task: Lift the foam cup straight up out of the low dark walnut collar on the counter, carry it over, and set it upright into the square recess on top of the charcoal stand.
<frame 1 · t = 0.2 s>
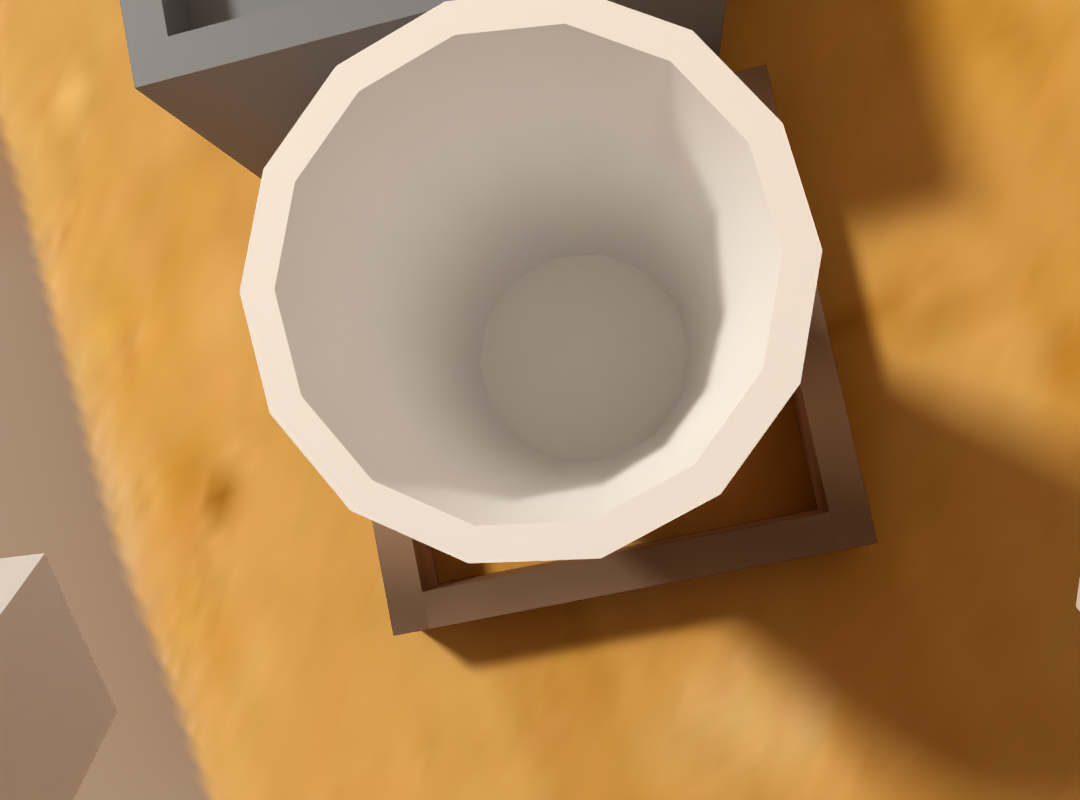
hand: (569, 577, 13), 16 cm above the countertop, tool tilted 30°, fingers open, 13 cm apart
walnut collar: (585, 359, 29), on the countertop
foam cup: (585, 360, 29), on the countertop
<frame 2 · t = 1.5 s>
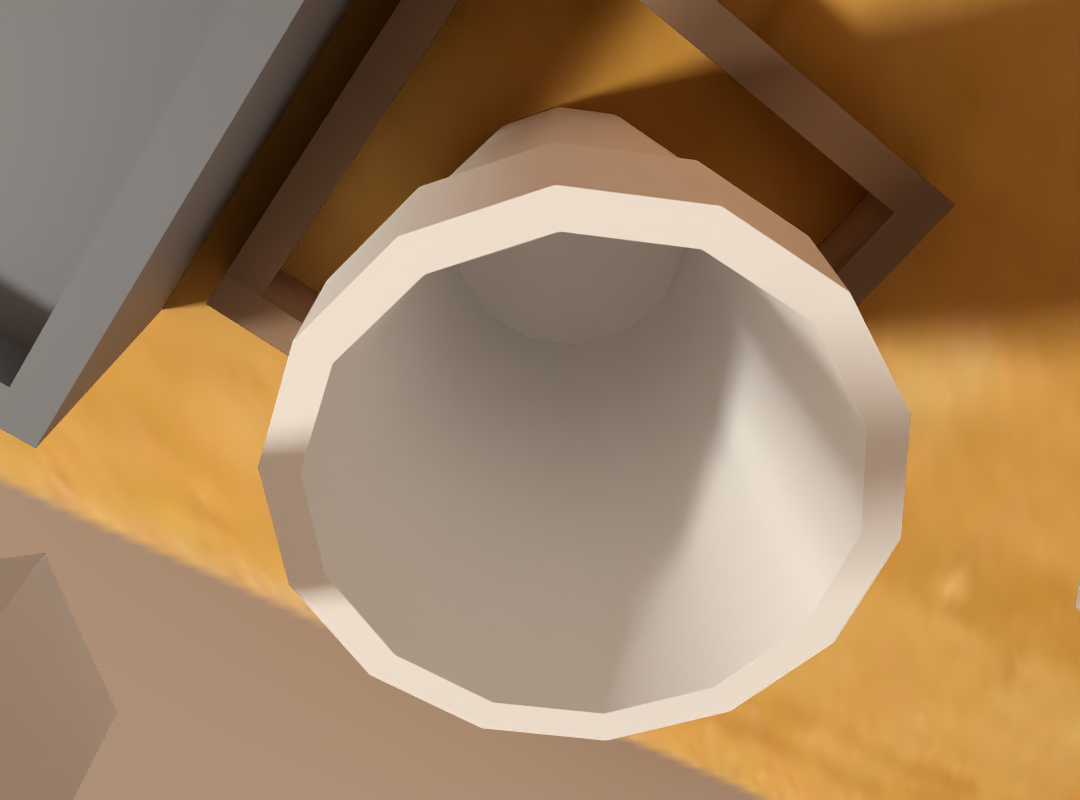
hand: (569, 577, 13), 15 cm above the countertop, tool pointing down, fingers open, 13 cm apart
walnut collar: (569, 230, 26), on the countertop
foam cup: (568, 227, 26), on the countertop
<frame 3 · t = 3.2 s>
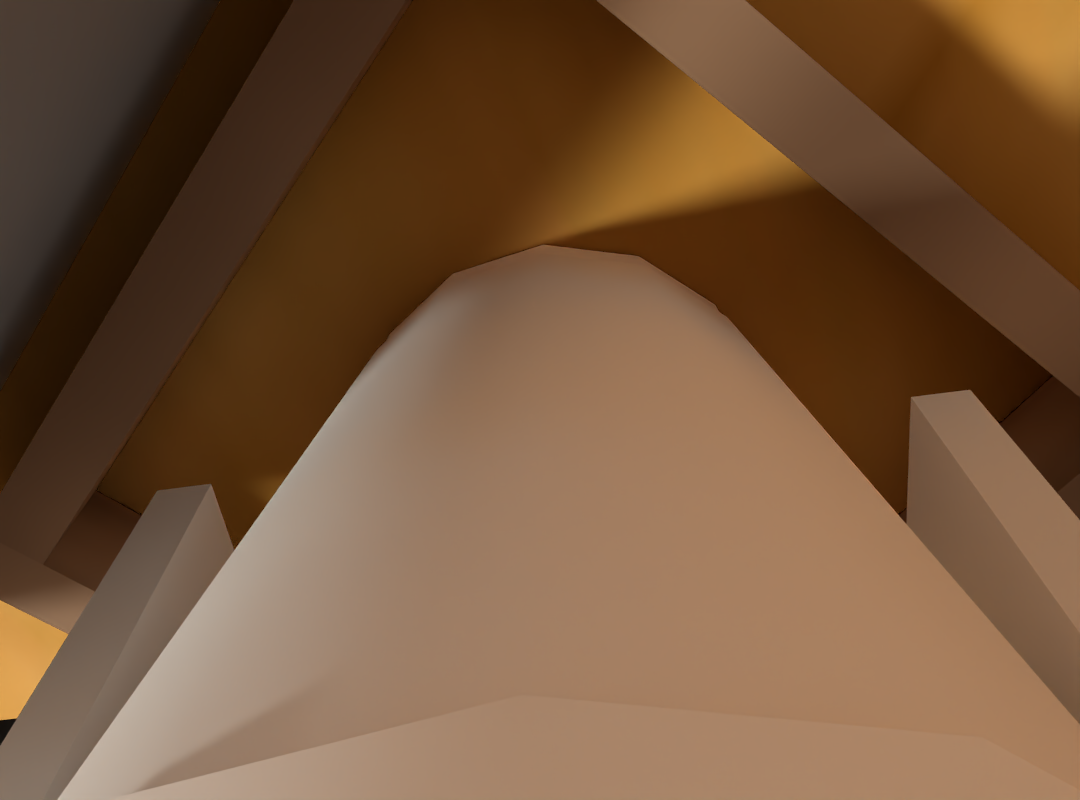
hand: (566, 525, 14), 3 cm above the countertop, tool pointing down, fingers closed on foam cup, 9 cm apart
walnut collar: (562, 432, 16), on the countertop
foam cup: (562, 426, 16), on the countertop, touching gripper
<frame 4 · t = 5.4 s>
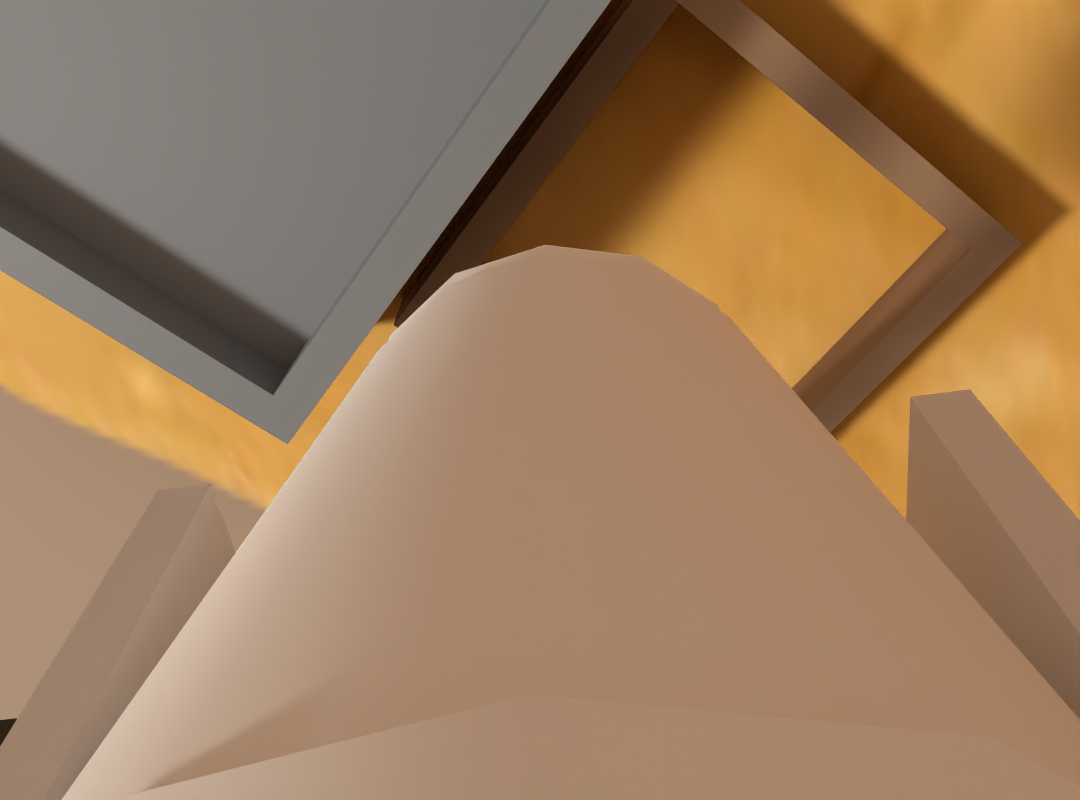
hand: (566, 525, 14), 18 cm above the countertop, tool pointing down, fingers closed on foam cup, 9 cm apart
charcoal stand: (260, 4, 28), on the countertop
walnut collar: (692, 262, 31), on the countertop
foam cup: (563, 426, 16), point 15 cm above the countertop, touching gripper
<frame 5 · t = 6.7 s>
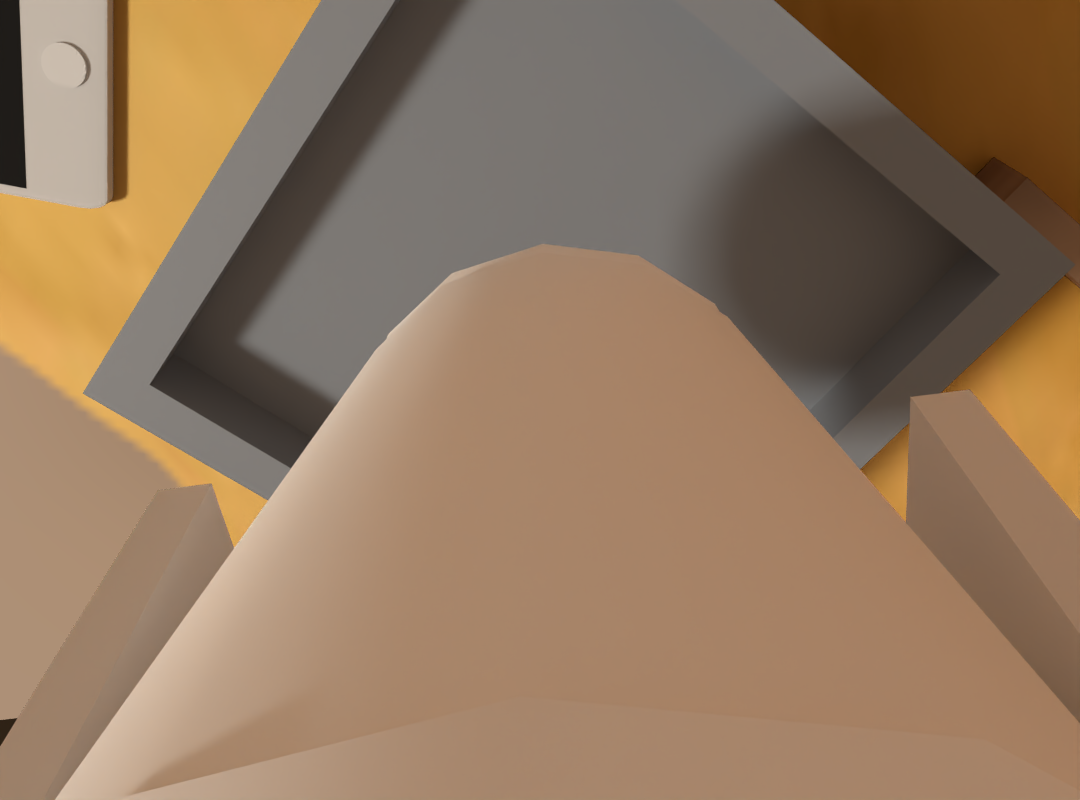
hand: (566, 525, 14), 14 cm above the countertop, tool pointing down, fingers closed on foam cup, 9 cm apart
charcoal stand: (557, 217, 26), on the countertop
walnut collar: (973, 461, 30), on the countertop
foam cup: (561, 426, 16), point 12 cm above the countertop, touching gripper
when the fingers open (10 cm above the countertop, at t = 7.9 s): foam cup drops 1 cm, resting on charcoal stand.
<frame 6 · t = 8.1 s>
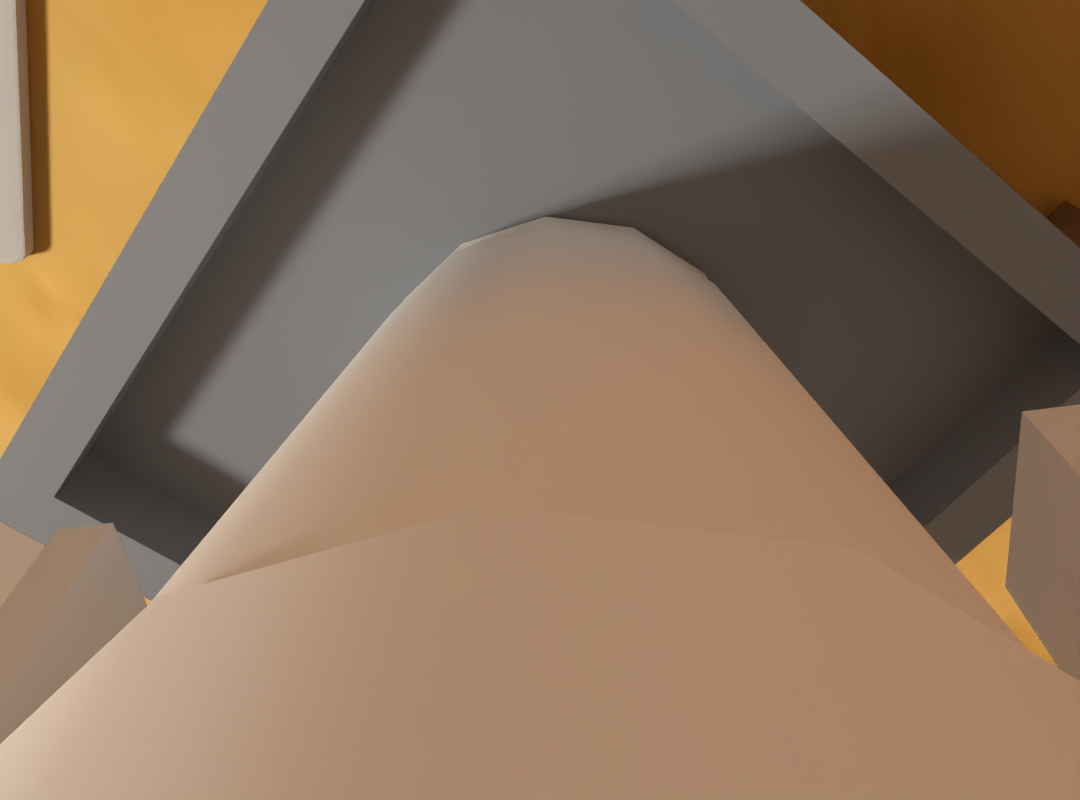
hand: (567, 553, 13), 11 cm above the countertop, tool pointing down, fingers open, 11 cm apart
charcoal stand: (554, 269, 23), on the countertop
walnut collar: (1029, 540, 26), on the countertop
foam cup: (563, 389, 17), point 6 cm above the countertop, touching charcoal stand
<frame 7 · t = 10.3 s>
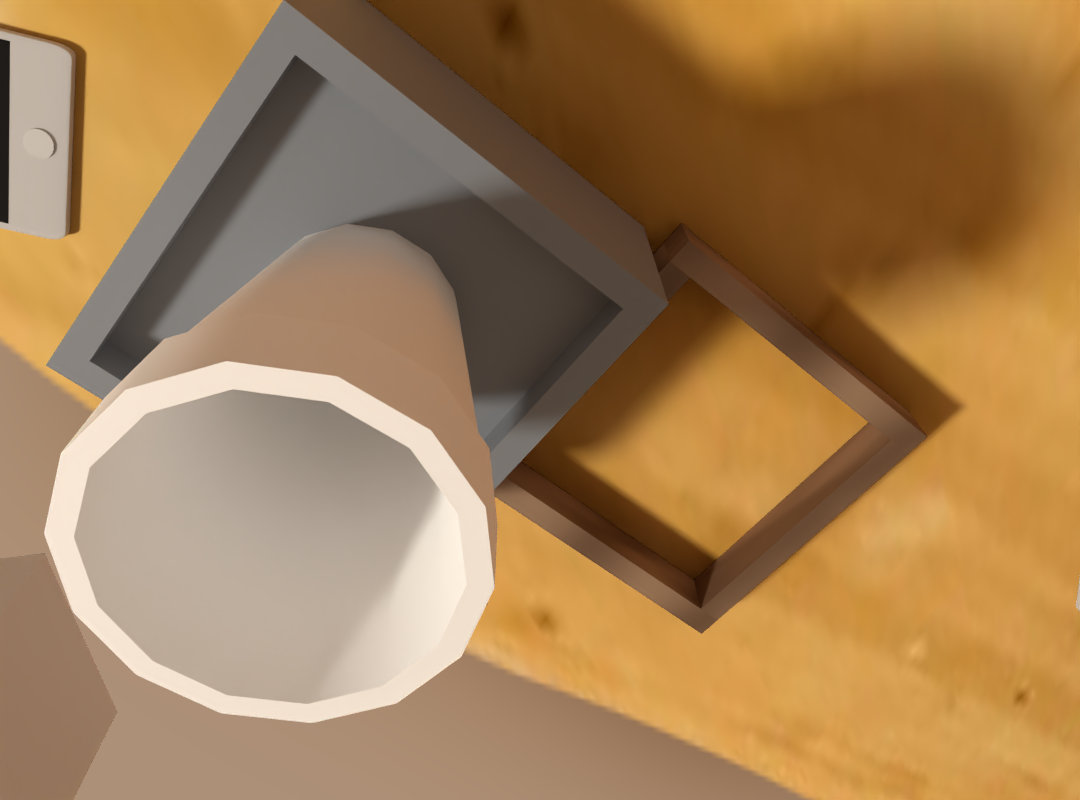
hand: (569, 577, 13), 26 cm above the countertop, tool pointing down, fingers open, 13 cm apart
charcoal stand: (383, 253, 38), on the countertop
walnut collar: (688, 433, 42), on the countertop
foam cup: (363, 314, 33), point 6 cm above the countertop, touching charcoal stand
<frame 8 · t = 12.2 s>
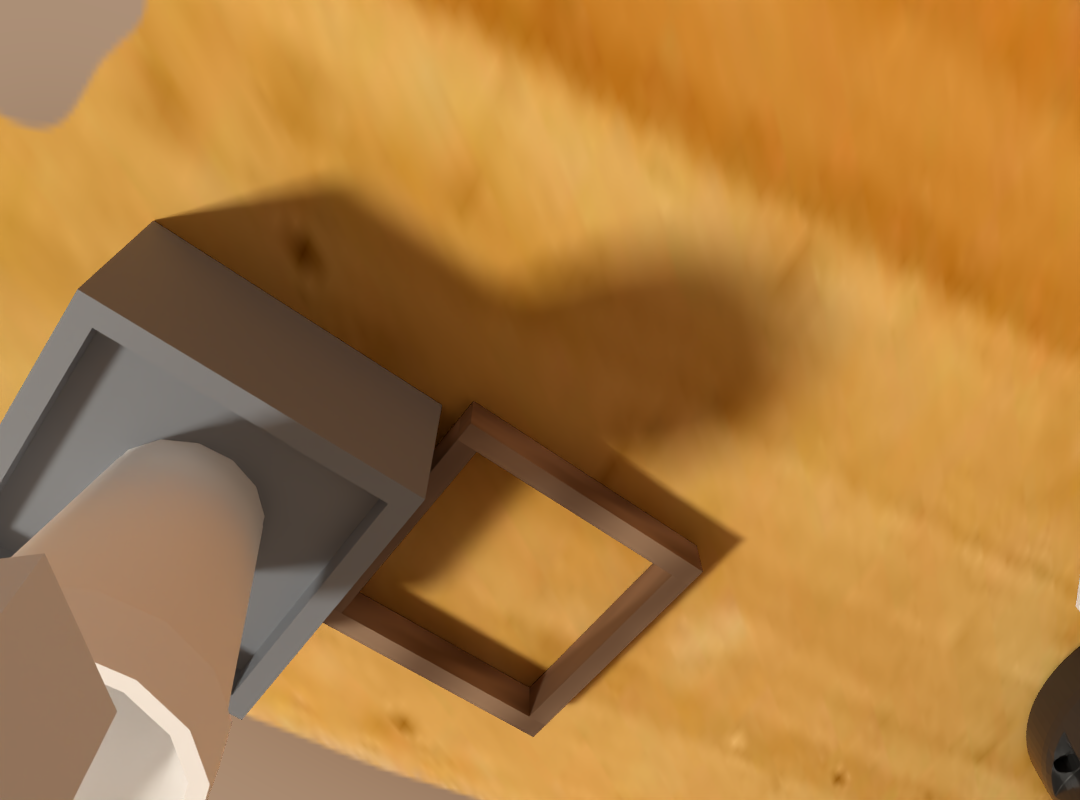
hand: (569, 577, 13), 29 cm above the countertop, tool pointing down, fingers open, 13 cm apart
charcoal stand: (224, 432, 45), on the countertop
walnut collar: (506, 568, 48), on the countertop
foam cup: (184, 505, 40), point 6 cm above the countertop, touching charcoal stand
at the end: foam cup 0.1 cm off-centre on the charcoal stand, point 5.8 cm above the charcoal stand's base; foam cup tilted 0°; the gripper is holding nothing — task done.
